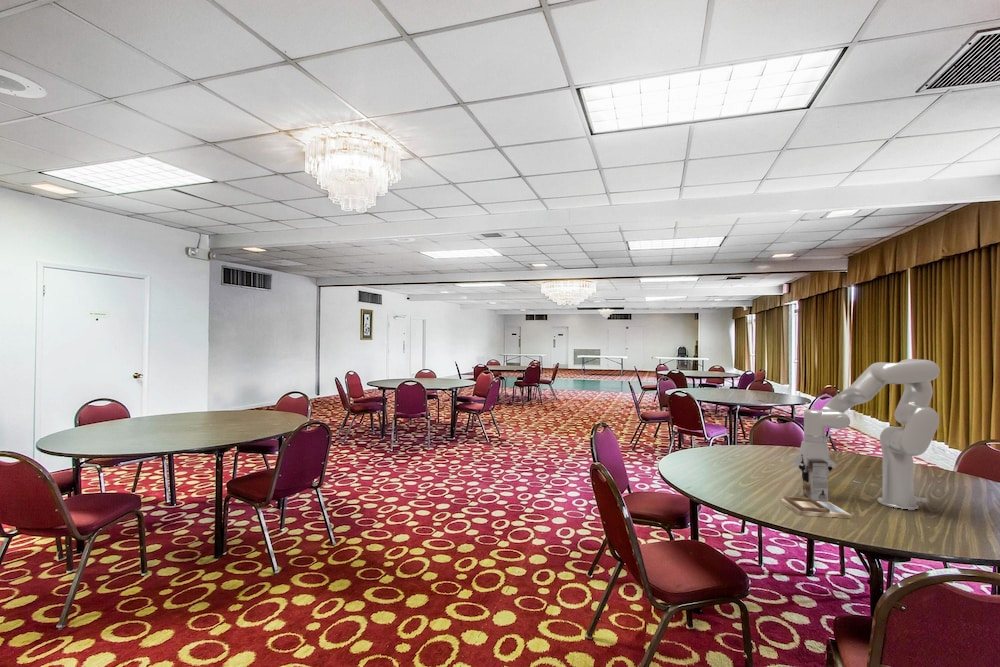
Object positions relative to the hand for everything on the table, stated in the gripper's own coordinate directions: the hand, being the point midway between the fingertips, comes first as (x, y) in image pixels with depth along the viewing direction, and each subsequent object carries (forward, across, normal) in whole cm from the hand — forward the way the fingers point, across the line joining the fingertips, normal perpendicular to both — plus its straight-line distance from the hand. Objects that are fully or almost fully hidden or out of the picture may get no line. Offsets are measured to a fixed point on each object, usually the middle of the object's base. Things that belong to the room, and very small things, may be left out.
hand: (815, 481), depth 192 cm
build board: (+7, +8, +16) cm, 19 cm away
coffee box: (+7, 0, 0) cm, 7 cm away
